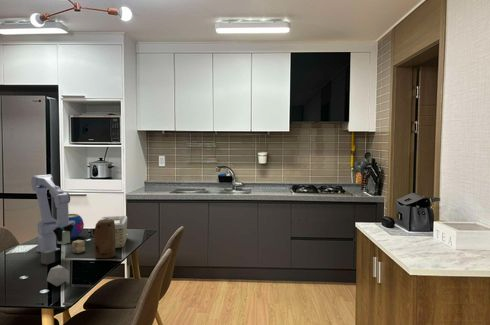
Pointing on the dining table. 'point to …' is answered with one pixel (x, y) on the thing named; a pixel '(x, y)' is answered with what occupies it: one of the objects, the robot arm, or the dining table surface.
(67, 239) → the sage block
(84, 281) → the dining table surface
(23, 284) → the dining table surface
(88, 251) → the dining table surface
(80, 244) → the beech block
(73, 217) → the ceramic pot
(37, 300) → the dining table surface
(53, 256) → the charcoal block
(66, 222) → the robot arm
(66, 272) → the die
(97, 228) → the brown rough elongated lump
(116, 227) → the storage basket
